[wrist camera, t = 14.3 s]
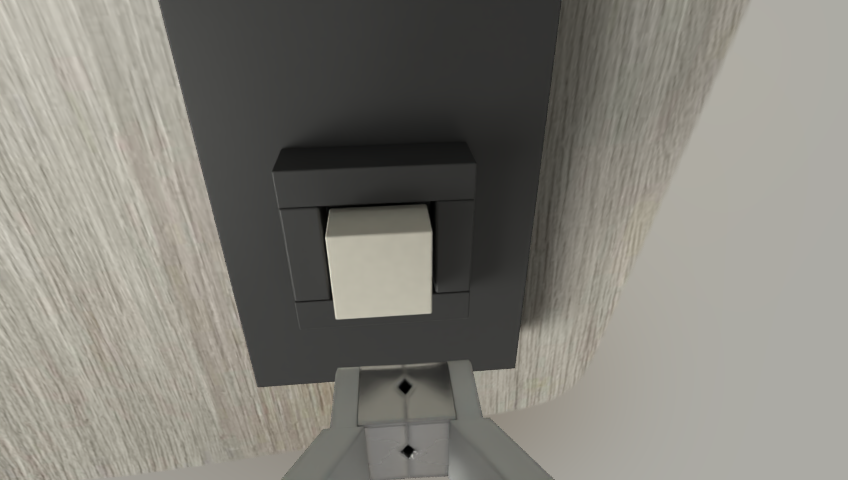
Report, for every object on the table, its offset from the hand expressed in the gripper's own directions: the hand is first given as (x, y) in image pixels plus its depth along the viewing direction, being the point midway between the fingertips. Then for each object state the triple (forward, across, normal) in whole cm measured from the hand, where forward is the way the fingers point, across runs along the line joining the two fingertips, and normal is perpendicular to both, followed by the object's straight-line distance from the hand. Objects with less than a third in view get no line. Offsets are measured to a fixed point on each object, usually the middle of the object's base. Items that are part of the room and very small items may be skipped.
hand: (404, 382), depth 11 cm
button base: (+9, +1, 0) cm, 9 cm away
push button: (+6, +1, 0) cm, 6 cm away
